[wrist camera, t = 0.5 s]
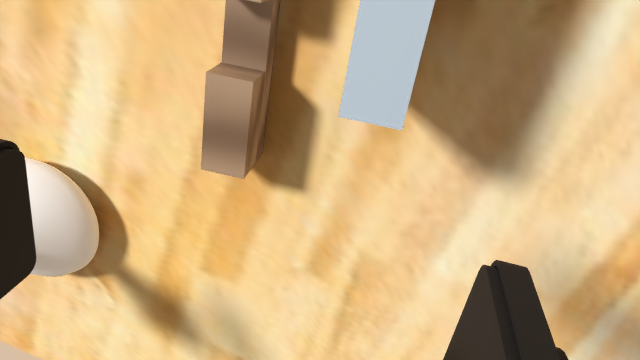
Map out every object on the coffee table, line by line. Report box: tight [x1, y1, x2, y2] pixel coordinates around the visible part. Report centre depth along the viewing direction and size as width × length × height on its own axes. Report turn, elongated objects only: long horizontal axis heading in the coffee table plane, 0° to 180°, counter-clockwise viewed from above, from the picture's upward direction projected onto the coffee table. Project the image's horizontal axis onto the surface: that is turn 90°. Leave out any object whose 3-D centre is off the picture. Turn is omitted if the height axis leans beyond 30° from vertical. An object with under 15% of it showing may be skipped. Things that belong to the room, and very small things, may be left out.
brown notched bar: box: [201, 0, 280, 179], centre depth 31 cm, size 18×3×4 cm, turn 171°
